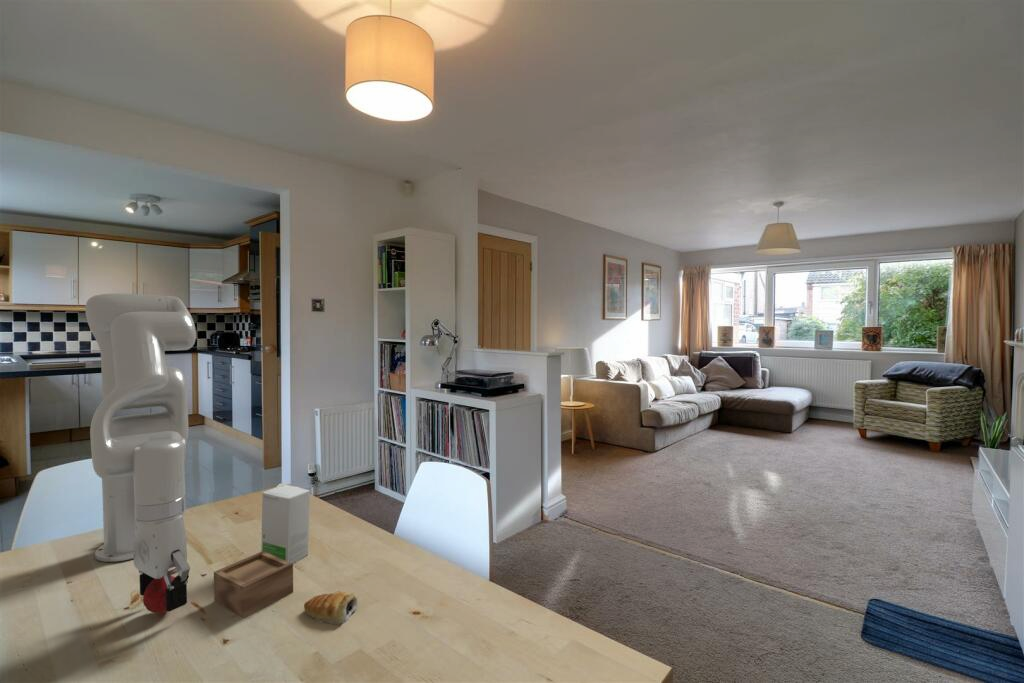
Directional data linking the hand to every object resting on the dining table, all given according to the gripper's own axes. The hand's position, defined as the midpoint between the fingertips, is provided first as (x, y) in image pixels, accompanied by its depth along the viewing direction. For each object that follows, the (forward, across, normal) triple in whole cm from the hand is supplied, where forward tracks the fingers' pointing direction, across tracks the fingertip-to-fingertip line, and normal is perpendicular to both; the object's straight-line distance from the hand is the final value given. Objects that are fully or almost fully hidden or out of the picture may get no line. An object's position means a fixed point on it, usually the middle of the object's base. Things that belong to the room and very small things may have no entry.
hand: (163, 599), depth 90 cm
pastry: (+4, +26, +16) cm, 31 cm away
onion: (+3, 0, 0) cm, 3 cm away
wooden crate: (+3, +9, +12) cm, 15 cm away
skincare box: (+3, 0, +25) cm, 25 cm away
